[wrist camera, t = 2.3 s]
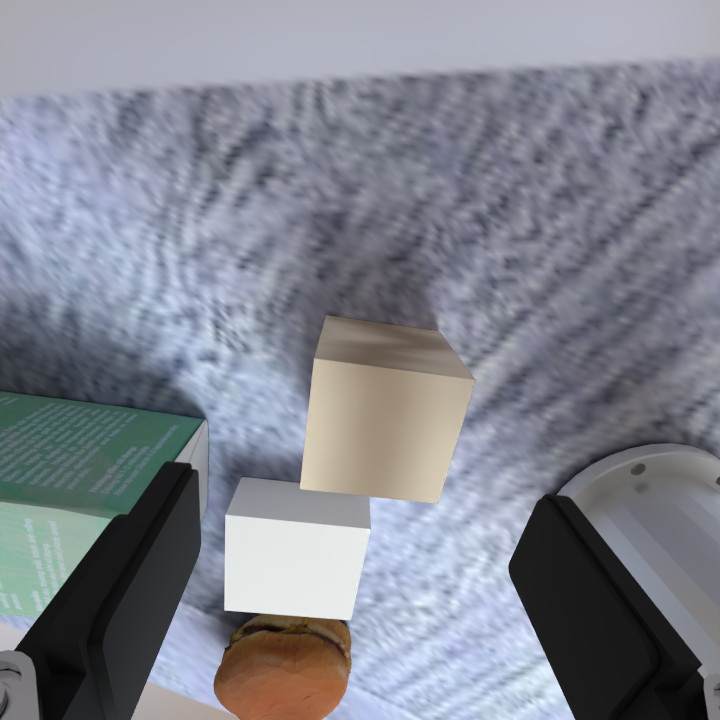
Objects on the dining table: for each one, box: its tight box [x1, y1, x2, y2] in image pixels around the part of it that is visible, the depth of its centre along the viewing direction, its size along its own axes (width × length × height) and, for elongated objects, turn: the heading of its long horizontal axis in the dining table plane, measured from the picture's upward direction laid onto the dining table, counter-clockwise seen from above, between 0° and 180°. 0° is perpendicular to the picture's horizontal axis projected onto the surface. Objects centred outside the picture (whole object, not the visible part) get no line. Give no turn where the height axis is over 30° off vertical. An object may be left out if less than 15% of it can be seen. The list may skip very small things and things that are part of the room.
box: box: [0, 391, 209, 617], centre depth 18 cm, size 7×14×8 cm, turn 81°
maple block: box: [300, 315, 476, 504], centre depth 17 cm, size 6×6×6 cm
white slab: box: [224, 477, 371, 620], centre depth 22 cm, size 8×8×3 cm
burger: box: [214, 613, 351, 720], centre depth 26 cm, size 10×9×5 cm
